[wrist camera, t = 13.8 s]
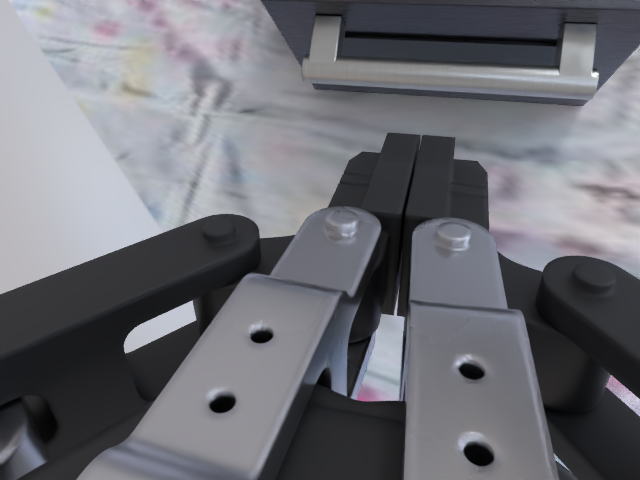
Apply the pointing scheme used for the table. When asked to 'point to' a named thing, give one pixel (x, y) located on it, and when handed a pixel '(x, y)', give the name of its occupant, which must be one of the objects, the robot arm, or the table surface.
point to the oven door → (461, 46)
